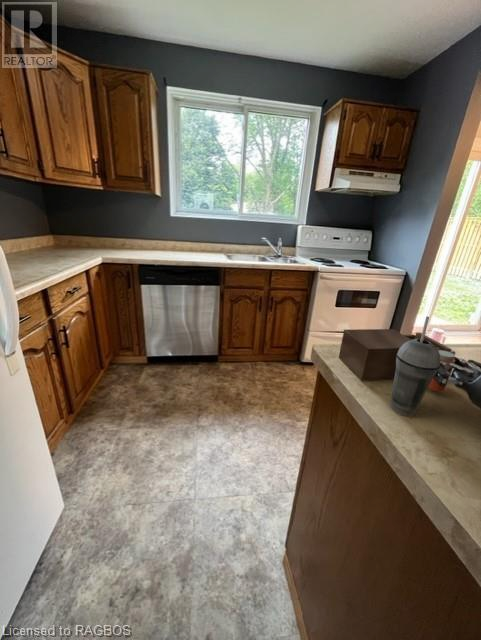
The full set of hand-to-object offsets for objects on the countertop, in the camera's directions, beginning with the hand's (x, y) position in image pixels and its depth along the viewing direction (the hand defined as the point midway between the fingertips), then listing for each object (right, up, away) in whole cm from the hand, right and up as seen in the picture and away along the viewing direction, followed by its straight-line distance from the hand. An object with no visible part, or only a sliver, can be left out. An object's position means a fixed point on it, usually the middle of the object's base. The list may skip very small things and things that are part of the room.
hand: (432, 355), depth 62 cm
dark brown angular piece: (+2, -4, +11) cm, 12 cm away
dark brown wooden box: (-9, -4, +10) cm, 14 cm away
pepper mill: (0, -7, 0) cm, 7 cm away
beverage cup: (-11, -10, -6) cm, 16 cm away
